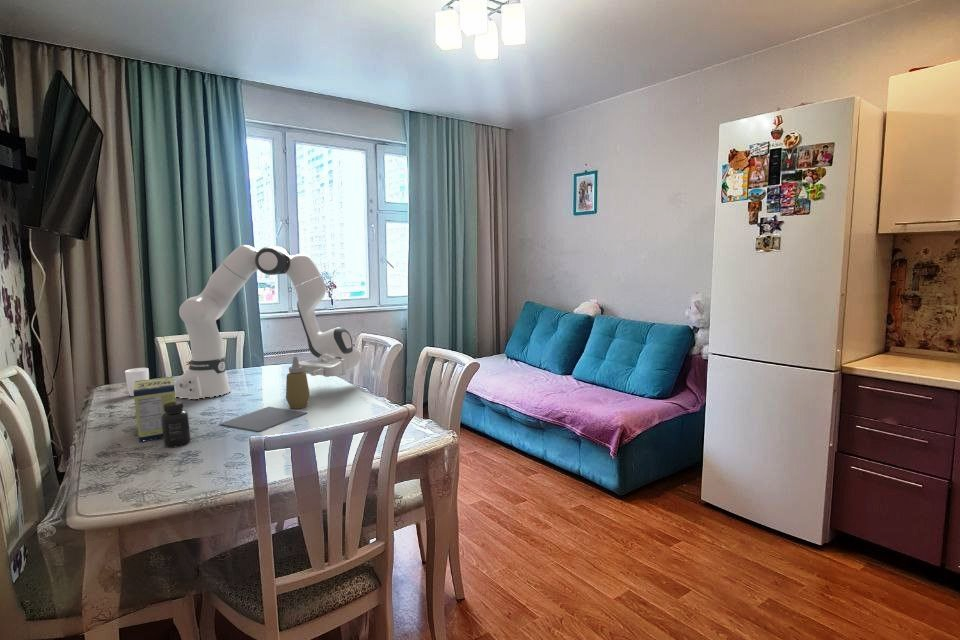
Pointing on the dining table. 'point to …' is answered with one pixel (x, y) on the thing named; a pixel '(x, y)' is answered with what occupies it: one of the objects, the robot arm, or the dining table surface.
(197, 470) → the dining table surface
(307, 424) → the dining table surface
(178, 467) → the dining table surface
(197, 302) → the robot arm
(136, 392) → the protein box
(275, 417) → the mat
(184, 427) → the supplement bottle
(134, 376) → the white cup
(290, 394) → the squeeze bottle
